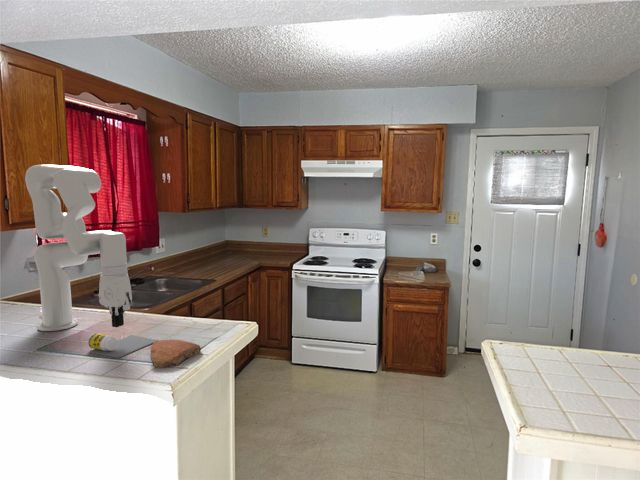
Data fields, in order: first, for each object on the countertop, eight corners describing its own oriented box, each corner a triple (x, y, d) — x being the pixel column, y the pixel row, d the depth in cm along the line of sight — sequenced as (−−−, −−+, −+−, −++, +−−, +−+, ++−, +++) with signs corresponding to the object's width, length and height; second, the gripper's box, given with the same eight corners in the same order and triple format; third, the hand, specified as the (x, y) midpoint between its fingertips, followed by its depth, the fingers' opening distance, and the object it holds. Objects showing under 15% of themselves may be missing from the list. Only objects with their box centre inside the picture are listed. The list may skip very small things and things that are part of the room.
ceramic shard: (128, 348, 121) (161, 338, 135) (130, 370, 120) (163, 358, 135) (172, 346, 117) (201, 336, 131) (173, 369, 116) (203, 357, 131)
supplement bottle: (91, 331, 133) (110, 334, 129) (102, 335, 136) (121, 338, 133) (84, 346, 131) (103, 349, 127) (96, 349, 134) (115, 353, 131)
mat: (89, 352, 131) (89, 350, 131) (131, 336, 145) (131, 335, 145) (118, 358, 126) (118, 357, 126) (158, 341, 140) (158, 340, 140)
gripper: (88, 271, 134) (91, 326, 136) (121, 274, 128) (124, 332, 130) (108, 267, 140) (111, 320, 142) (141, 270, 134) (144, 325, 136)
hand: (118, 325), depth 136 cm, fingers closed
